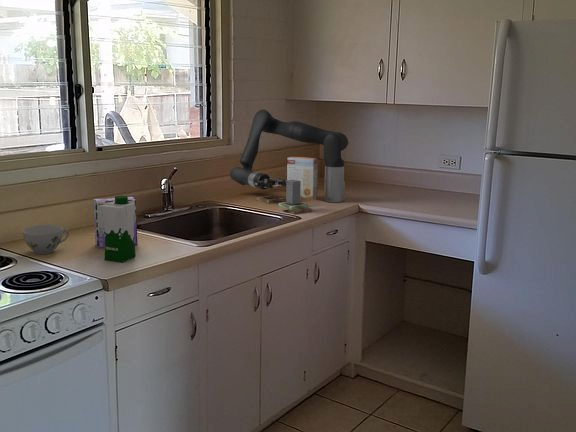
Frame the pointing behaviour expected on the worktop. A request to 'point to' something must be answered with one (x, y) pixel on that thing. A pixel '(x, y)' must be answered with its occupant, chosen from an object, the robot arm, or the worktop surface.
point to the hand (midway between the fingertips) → (279, 185)
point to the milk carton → (119, 229)
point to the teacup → (44, 237)
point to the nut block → (293, 192)
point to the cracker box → (304, 175)
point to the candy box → (100, 220)
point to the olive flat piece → (281, 203)
